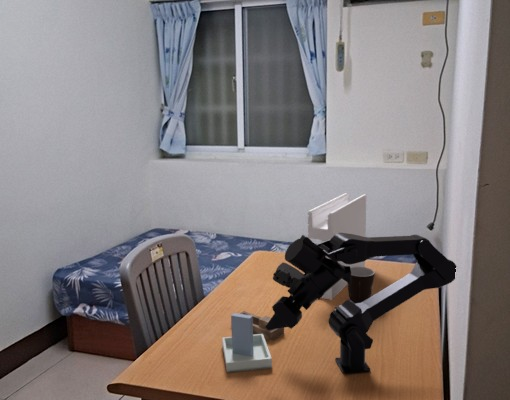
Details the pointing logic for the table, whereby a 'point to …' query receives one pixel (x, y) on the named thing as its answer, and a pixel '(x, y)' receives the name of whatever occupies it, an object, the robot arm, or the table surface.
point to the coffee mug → (360, 284)
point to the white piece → (338, 226)
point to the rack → (264, 329)
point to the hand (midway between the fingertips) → (273, 319)
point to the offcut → (264, 321)
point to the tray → (247, 363)
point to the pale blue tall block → (242, 334)
